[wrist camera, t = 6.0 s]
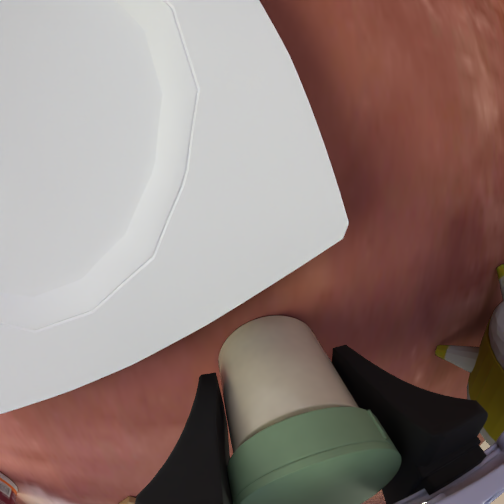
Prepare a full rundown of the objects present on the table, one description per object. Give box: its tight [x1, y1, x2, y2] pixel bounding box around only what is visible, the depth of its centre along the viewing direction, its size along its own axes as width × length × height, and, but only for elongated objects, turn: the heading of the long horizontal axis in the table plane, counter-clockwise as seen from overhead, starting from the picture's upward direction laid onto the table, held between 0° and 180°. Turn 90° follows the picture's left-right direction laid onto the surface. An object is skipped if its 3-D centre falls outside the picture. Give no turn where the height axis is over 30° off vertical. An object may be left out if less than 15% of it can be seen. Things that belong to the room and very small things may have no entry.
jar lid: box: [227, 406, 402, 504], centre depth 8 cm, size 6×5×2 cm
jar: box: [218, 315, 360, 453], centre depth 11 cm, size 5×5×7 cm
